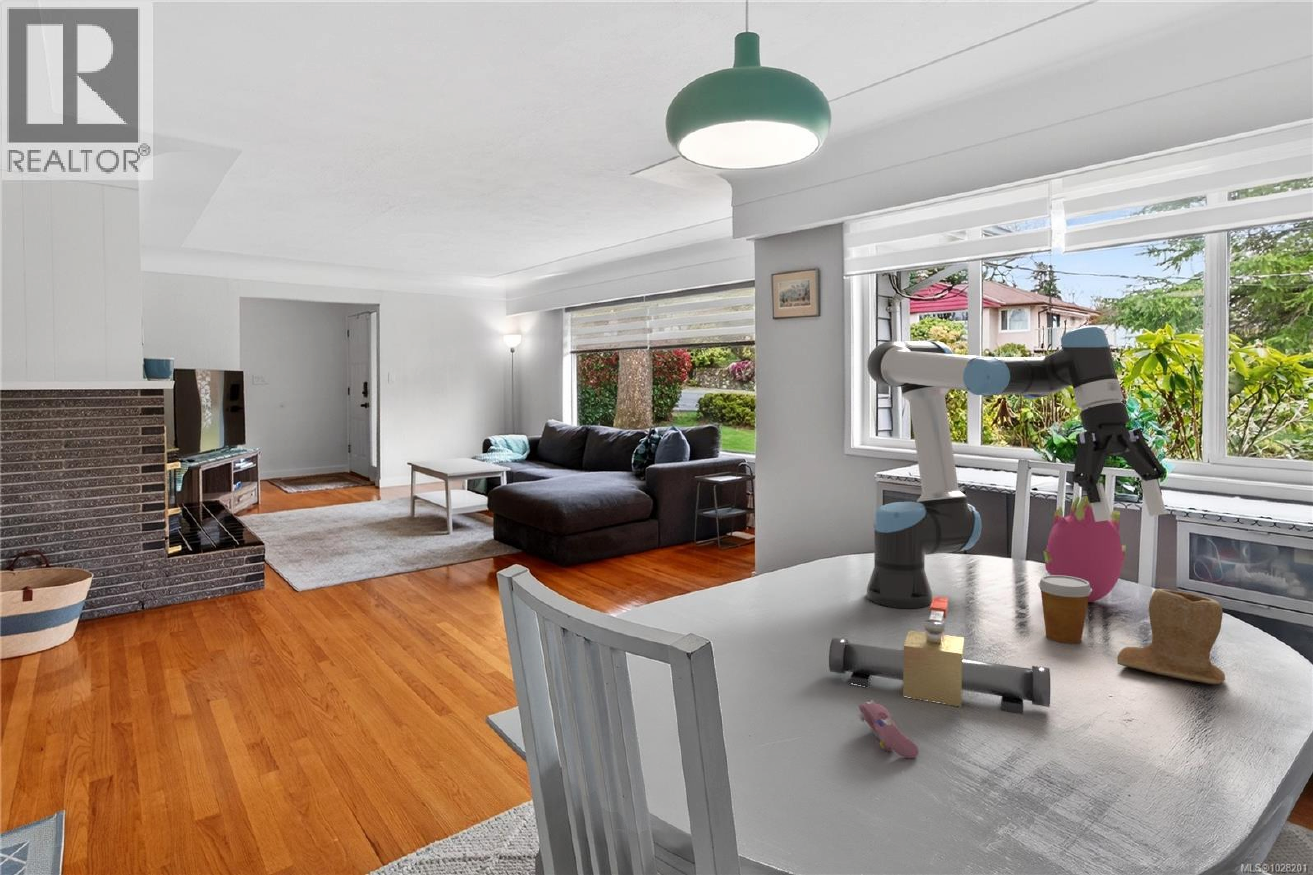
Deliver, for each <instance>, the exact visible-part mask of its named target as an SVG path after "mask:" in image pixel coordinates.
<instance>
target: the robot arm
mask: <svg viewBox="0 0 1313 875" xmlns="http://www.w3.org/2000/svg"><path fill="white" fill-rule="evenodd" d="M1060 347H1061V348H1060V349H1058V350H1056V351H1054V352H1051V353H1050V354H1047V355H1044V356H1040V357H1039V356H1037V357H1034V356H1033V357H1032V356H1031V357H1030V356H1029V357H1001V356H1000V357H999V356H997V357H996V356H984V355H983V356H981V355H968V354H967V355H966V354H956V353H954V351H953V350H952V348H950V347H949V346H948V345H947V344H945V343H944V342H940V341H933V340H929V339H928V340H891V341H886V342H882V343H880V344H879V345H877V346H876V347H875V348H874V349H873V350H872V351H871V352H870V353H869V355H868V357H867V361H866V364H867V365H866V368H867V371H868V372H867V373H868V374H869V376H870V377H871V379H872V380H873V381H874V382H875V383H877V384H879V385H882V386H884V387H895V388H896V387H897V388H898V387H900V389H901V397H903V398H904V399H906V400H907V401H908V402H909V408H910V409H909V410H910V415H911V424H912V430H913V436H914V445H915V451H916V458H917V464H918V471H919V479H920V485H921V486H920V487H921V492H922V493H921V495H920V497H919V498H917V500H916V501H898V502H897V501H896V502H890V503H886V504H884V505H881V506H879V507H878V508H877V509H876V511H875V513H874V523H873V528H874V542H873V544H874V546H873V548H874V552H873V553H874V556H873V557H874V561H873V562H874V565H873V566H874V567H873V570H872V572H871V575H870V578H869V581H868V584H867V586H866V598H867V597H868V598H867V600H869V601H870V600H871V601H870V602H872V601H873V602H872V603H874V602H875V604H876V605H880V604H882V605H881V606H884V605H885V606H884V607H889V608H894V609H895V608H897V609H919V608H923V607H927V606H929V605H930V606H931V603H932V600H933V592H932V589H931V586H930V585H931V584H930V583H929V580H928V576H927V573H926V570H925V569H926V568H925V564H926V563H925V562H926V561H925V556H927V555H935V554H937V555H938V554H947V553H959V552H962V551H967V550H969V549H971V548H972V547H974V546H975V545H976V544H977V541H978V540H979V539H980V537H981V532H982V518H981V516H980V513H979V511H977V509H976V508H975V506H973V505H972V504H969V503H968V497H967V495H966V494H965V493H963V492H962V491H961V490H960V489H959V481H958V476H957V469H956V463H955V457H954V456H955V455H954V449H953V443H952V436H951V429H950V422H949V415H948V409H947V404H946V403H947V402H946V396H947V394H948V392H949V391H950V390H958V391H964V392H965V391H967V392H969V393H970V394H973V395H975V396H984V397H993V396H1007V395H1013V396H1014V395H1020V397H1024V398H1025V399H1027V400H1036V399H1039V398H1045V397H1048V396H1049V395H1052V394H1054V393H1056V392H1059V391H1061V390H1064V389H1067V388H1070V387H1072V388H1073V393H1074V394H1073V395H1074V397H1075V398H1074V399H1075V401H1076V407H1077V409H1078V410H1080V413H1079V417H1080V420H1081V424H1082V428H1083V429H1084V431H1083V432H1079V433H1077V434H1075V437H1076V438H1075V440H1076V445H1077V447H1076V452H1075V453H1076V455H1075V462H1074V470H1073V477H1072V481H1073V483H1075V484H1078V485H1077V486H1079V487H1080V488H1082V487H1084V489H1085V492H1086V496H1087V497H1088V501H1089V502H1090V503H1091V506H1092V510H1093V514H1094V518H1095V522H1099V521H1105V520H1112V518H1111V511H1110V507H1109V504H1108V499H1107V496H1106V491H1105V488H1104V484H1103V483H1099V484H1097V483H1098V481H1099V480H1100V477H1101V475H1102V472H1103V470H1104V466H1105V464H1106V462H1107V459H1108V457H1109V456H1110V455H1111V456H1117V457H1119V458H1122V459H1123V461H1125V462H1126V463H1127V464H1128V465H1129V466H1130V468H1132V469H1133V470H1134V472H1135V473H1137V475H1138V476H1139V477H1140V478H1141V479H1142V480H1143V481H1141V482H1140V486H1141V489H1142V492H1143V493H1142V494H1143V497H1144V500H1145V504H1146V507H1147V511H1148V516H1149V517H1153V516H1154V517H1155V516H1161V515H1167V510H1166V507H1165V503H1164V499H1163V492H1162V489H1161V486H1160V483H1159V479H1163V478H1164V477H1165V475H1166V470H1165V468H1164V467H1163V466H1162V464H1161V463H1160V461H1159V459H1158V458H1157V456H1156V455H1155V453H1154V452H1153V451H1152V449H1151V447H1150V446H1149V445H1148V443H1147V441H1146V440H1145V437H1144V435H1143V433H1142V432H1143V431H1142V430H1141V429H1140V428H1134V429H1132V430H1129V429H1128V428H1127V426H1126V425H1127V423H1129V422H1130V415H1129V412H1128V409H1127V405H1126V404H1125V403H1124V402H1123V401H1124V395H1123V391H1122V388H1121V385H1120V381H1119V378H1118V374H1117V372H1116V368H1115V363H1114V359H1113V358H1114V357H1113V355H1112V350H1111V345H1110V343H1109V341H1108V337H1107V336H1106V333H1105V330H1104V328H1102V327H1101V326H1097V325H1096V326H1095V325H1089V326H1083V327H1079V328H1075V329H1073V330H1070V331H1066V333H1064V334H1063V335H1061V337H1060ZM1099 482H1100V481H1099Z"/></svg>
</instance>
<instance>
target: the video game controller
mask: <svg viewBox="0 0 1313 875" xmlns="http://www.w3.org/2000/svg"><path fill="white" fill-rule="evenodd" d="M858 708H859V711H860V714H858V718H859V720H860V721H861V722H863V723H864V722H866V723H867V724H868V725H869V727H870V729H871V731H872V732H873V735H874V736H875V737H876V739H877V738H878V739H879V740H878V741H879V744H880V747H882V748H884V749H885V748H886V749H885V750H886V751H887V752H889V751H891V750H892V751H893V752H895V753H897V754H898V755H900V756H902V757H904V758H907V759H916V758H917V757H918V756H919V753H920V752H919V747H918V746H917V745H916V743H915V742H914V741H913V740H912V739H910V738H909V737H907V736H906V735H905V734H904V733H903V732H902V731H901V730H900V729H899V728H898V727H897V725H896V723H895V720H894V719H893V718H892V717H891V715H890V712H889V711H888V710H887V708H886V707H884V706H883V705H881V704H879V703H876V701H874V699H871V700H870V701H865V702H863V703H861V704H859V705H858Z"/></svg>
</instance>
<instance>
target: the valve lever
mask: <svg viewBox="0 0 1313 875" xmlns="http://www.w3.org/2000/svg"><path fill="white" fill-rule="evenodd" d="M929 607H930V608H929V618H928V619H925V620H924V623H923V624H924V627H923V628H924V630H925V631H926V632H927V631H929V632H934V633H941V632H942V633H944V632H945V629H946V628H945V627H946V624H945V622H944V620H946V618H947V615H948V614H947V613H948V610H949V597H941V596H933V595H932V603H931V604H930V606H929Z"/></svg>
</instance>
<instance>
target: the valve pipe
mask: <svg viewBox="0 0 1313 875" xmlns="http://www.w3.org/2000/svg"><path fill="white" fill-rule="evenodd" d="M828 652H829V653H828V667H829V671H830V673H836V674H840V675H841V674H842V675H846V673H851V675H850V684H851V683H853V684H857V685H861V686H865V687H864V688H866V687H868V686H869V687H870V685H869V683H870V684H871V682H872V680H871V678H872V679H873V677H879V678H884V679H885V678H887V679H892V680H898V681H902V684H903V685H902V687H903V688H902V696H907V697H911V698H915V699H921V700H928V701H935V702H940V703H945V704H948V705H947V706H950V705H955V706H954V707H956V706H959V707H958V708H962V706H963V705H962V704H963V703H962V702H963V697H964V695H963V694H964V691H966V692H972V693H978V694H984V695H985V694H986V695H991V696H997V697H1001V710H1002V711H1003V712H1009V713H1016V714H1021V715H1024V701H1027V702H1031V705H1032V706H1040V707H1044V708H1045V707H1046V708H1051V707H1050V706H1051V670H1050V668H1049V667H1044V666H1038V665H1031V668H1028V667H1021V666H1015V665H1010V664H1009V665H1007V664H1002V663H1001V664H1000V663H996V662H994V663H993V662H986V661H980V660H973V659H966V658H965V637H962V636H955V635H948V634H947V635H946V634H943V632H941V633H934V632H929V631H926V632H924V631H917V630H908V632H907V634H906V638H905V640H904V644H903V649H895V648H890V647H889V648H888V647H881V646H877V645H876V646H874V645H867V644H859V643H855V642H854V643H853V642H849V639H846V638H839V637H838V638H837V637H832V639H831V640H830V645H829V651H828ZM872 676H873V677H872ZM870 681H871V682H870ZM869 687H868V688H869ZM915 699H914V700H915ZM921 700H920V701H921Z"/></svg>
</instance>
